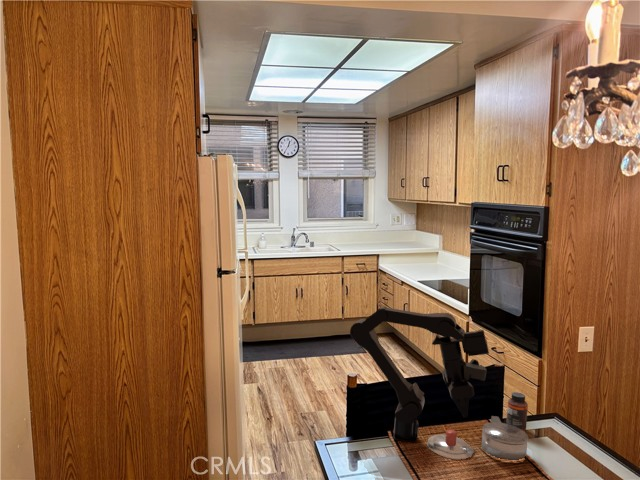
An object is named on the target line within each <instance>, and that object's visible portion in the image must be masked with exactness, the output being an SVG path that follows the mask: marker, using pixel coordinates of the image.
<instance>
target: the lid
mask: <svg viewBox="0 0 640 480" xmlns="http://www.w3.org/2000/svg"><path fill="white" fill-rule="evenodd" d="M460 438H461V437H459V438H458V432H457V431H456V430H455V429H446V430H445V433H444V434H442V433H441V434H435V435H434V434H433V435H431V436H430V437H428V439H427V445H426V446H427V447H428V449H429V450H431V452H433V453H434V454H436V455H438V456H440V457H443V458H447V459H449V460H450V459H451V460H458V461H459V460H460V461H461V459H462V460H467V459H466V458H468V457H470V456H471V455H472V454H473V453H475V449H472V448H471V447H469V446H470V445H468V444H467V443H466V442H465V441H466V440H465V439H464V440H465V441H464V440H462V439H463V438H461V439H460ZM473 455H474V454H473ZM470 458H471V457H470ZM468 459H469V458H468Z"/></svg>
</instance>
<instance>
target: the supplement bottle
mask: <svg viewBox="0 0 640 480" xmlns="http://www.w3.org/2000/svg"><path fill="white" fill-rule="evenodd" d="M510 397H511V398H509V399H508V401H507V407H506V409H507V410H506V423H505V424H509V425H512V426H515V427H517V428H519V429H521V430H523V431H524V432H526V431H527V423H528V422H527V421H528V407H529V406H528V403H527V401H526V395H525V394H524V393H522V392H518V391H517V392H516V391H514V392H511V396H510Z"/></svg>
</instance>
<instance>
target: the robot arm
mask: <svg viewBox="0 0 640 480" xmlns="http://www.w3.org/2000/svg"><path fill="white" fill-rule="evenodd" d="M384 322H386V323H392V324H398V325H402V326H407V327H409V326H410V327H414V328H421V329H424V330H426V331H428V332H430V333H433V334H435V335H436V336H435V338H434V339H433V340H432V343H431V345H433V346H435V345H436V346H437V345H438V346H439V349H440V354H441V359H442V360H441V362H442V366H443V370H442V371H441V372H442V378H443V381H444V383H445V385H446V387H447V389H448V391H449V394H450V395H449V396H450V398H451V399H452V401H453V402H454V404H455V405H456V407H457V409H458V410H459V412H460V413H461V414H460V415H461V416H463V418H464V419H465V418H468V417H469V401H470V399H471V398H473V397H474V396H475V395H476V394H475V388H474V386H473V385H472V383H471V382H469V381H470V379H475V380H480V381H482V382H484V381H486V377H487V368H486V367H485V366H484V365H482V364H480V363H479V361H478V360H477V359H474V358H471V360H470V361H469V362H466V361H465V360H464V358H463V354H466V355H467V356H468V357H474V356H482V355H490V351H489V346H488V340H487V338H486V334H485V331H484V329H478V330H474V331H466V330H465V329H463V328H462V327H461V326H460V325H459V324H458V323H457V320H456V317H455V316H453V314H451V313H448V312H433V313H423V312H421V313H420V312H415V311H410V310H409V311H408V310H403V309H397V308H390V307H387V306H380V307H379V308H378V309H377V310H376V311H374V312H373V313H372V314H371V315H369V316H368V317H367V318H360V319H358V320H357V321H356V322H354V323H353V324H352V325H351V327H350V330H349V336H350V337H351V338H352V339H353V341H354V342H355V343H357V345H358V346H359V347H361V348H362V349H363V350H365V351H367V353H368V354H369V355H370V356H371V358H372V359H373V361H374V362H375V364H376V365H377V367H378V368H379V370H380V371H381V373H382V374H383V375H384V377H385V378H386V379H387V381H388V382H389V384H390V386H391V387H392V388H393V389H394V390H395V394H396V396H397V399H398V404H397V407H396V409H395V411H394V426H393V440H394V441H401V442H410V443H417V439H418V438H419V426H420V425H419V421H418V418H417V417H419V416H420V415H421V414H422V412H423V410H424V405H425V396H424V395H425V392H424V391H422V390H421V389H420V387H419V385H418V383H417V382H414V383H413V384H412V383H410V382H409V381H408V380H407V379H406V378H405V376H404V375H403V373H402V372H401V371H400V369H399V368H398V367H397V365H396V364H395V362H394V361H393V359H391V357H390V356H389V354H388V353H387V351H386V350H385V349H384V346H382V344H381V343H380V340H379V338H378V334H377V331H376V328H377V327H378V326H379V325H381V324H382V323H384ZM461 345H462V346H461ZM462 351H463V353H462Z"/></svg>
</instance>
